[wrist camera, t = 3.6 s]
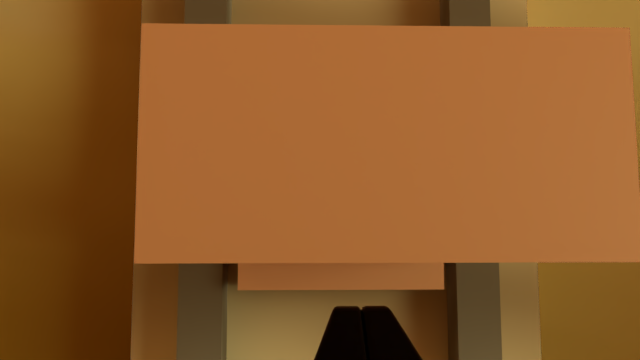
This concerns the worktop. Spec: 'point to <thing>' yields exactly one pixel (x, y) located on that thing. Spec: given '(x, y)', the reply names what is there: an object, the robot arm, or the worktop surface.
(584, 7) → the worktop surface
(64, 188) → the worktop surface
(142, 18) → the slider board
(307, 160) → the fader tab
